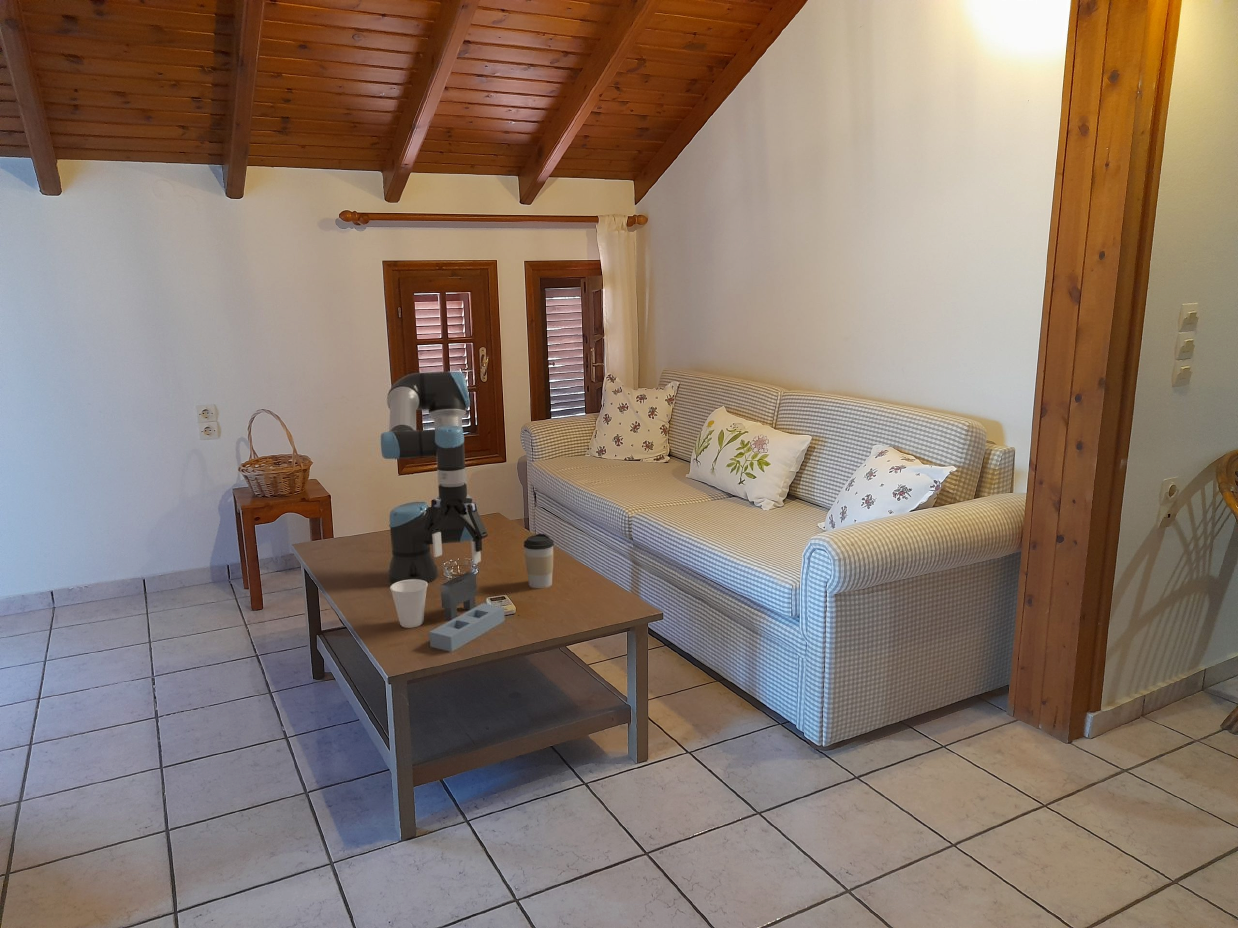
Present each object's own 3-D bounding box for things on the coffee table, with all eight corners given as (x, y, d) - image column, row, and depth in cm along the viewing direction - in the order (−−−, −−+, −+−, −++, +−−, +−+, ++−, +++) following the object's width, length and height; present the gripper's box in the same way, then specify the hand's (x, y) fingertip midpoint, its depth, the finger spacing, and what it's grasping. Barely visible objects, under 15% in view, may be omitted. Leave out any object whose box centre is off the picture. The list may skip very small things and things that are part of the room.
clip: (442, 619, 242) (440, 584, 240) (469, 605, 252) (467, 572, 250) (451, 621, 241) (448, 586, 239) (477, 607, 251) (475, 573, 249)
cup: (396, 617, 244) (393, 580, 242) (432, 615, 245) (429, 578, 243) (390, 632, 235) (386, 593, 232) (428, 630, 235) (425, 591, 233)
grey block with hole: (430, 646, 225) (429, 631, 224) (484, 616, 244) (483, 602, 243) (451, 651, 222) (450, 636, 221) (504, 621, 240) (504, 607, 240)
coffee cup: (550, 590, 263) (548, 542, 259) (521, 588, 264) (519, 540, 261) (558, 579, 271) (557, 532, 268) (530, 578, 273) (528, 531, 270)
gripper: (407, 482, 241) (413, 556, 246) (480, 491, 229) (484, 569, 234) (426, 476, 248) (431, 549, 252) (498, 485, 236) (502, 561, 240)
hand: (457, 559), depth 243 cm, fingers open, 13 cm apart
